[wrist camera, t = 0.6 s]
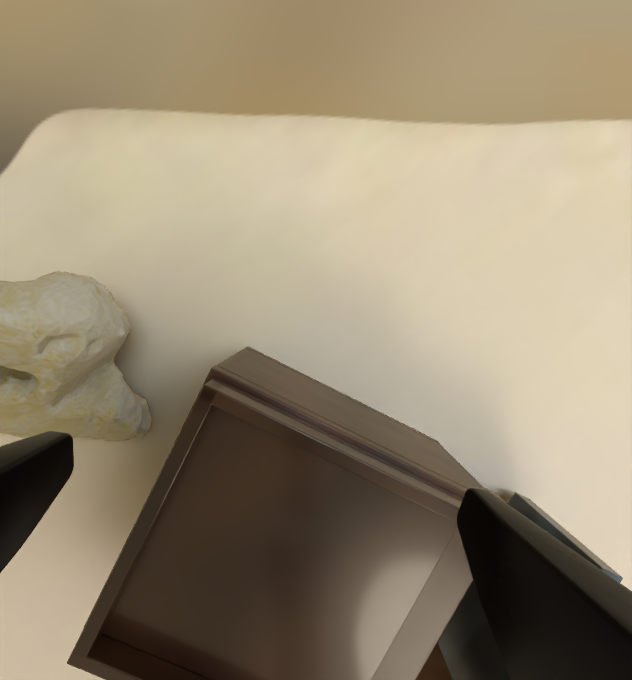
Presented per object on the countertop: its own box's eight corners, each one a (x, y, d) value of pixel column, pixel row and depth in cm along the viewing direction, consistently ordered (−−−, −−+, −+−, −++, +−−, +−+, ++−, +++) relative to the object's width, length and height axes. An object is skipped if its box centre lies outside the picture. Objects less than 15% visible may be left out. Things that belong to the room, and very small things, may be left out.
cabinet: (436, 440, 23) (511, 515, 14) (350, 597, 24) (373, 754, 15) (248, 346, 22) (211, 367, 14) (165, 512, 23) (82, 629, 14)
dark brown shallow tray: (465, 498, 14) (483, 520, 13) (333, 732, 15) (336, 778, 14) (215, 376, 14) (204, 384, 12) (90, 627, 14) (65, 664, 13)
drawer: (583, 525, 23) (697, 614, 16) (499, 666, 23) (575, 807, 17) (355, 412, 22) (376, 457, 15) (274, 563, 22) (260, 671, 16)
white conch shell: (215, 323, 24) (-46, 113, 13) (203, 416, 19) (-218, 200, 9) (79, 395, 29) (-189, 282, 18) (42, 483, 24) (-350, 397, 13)
